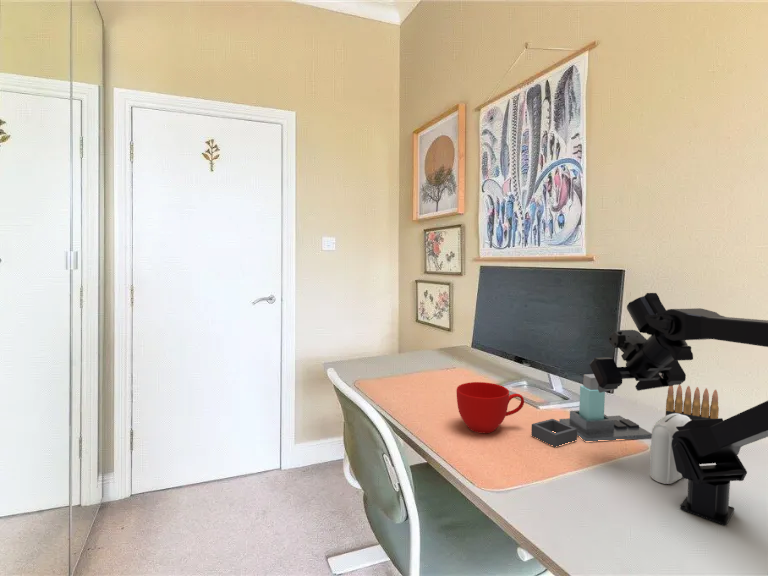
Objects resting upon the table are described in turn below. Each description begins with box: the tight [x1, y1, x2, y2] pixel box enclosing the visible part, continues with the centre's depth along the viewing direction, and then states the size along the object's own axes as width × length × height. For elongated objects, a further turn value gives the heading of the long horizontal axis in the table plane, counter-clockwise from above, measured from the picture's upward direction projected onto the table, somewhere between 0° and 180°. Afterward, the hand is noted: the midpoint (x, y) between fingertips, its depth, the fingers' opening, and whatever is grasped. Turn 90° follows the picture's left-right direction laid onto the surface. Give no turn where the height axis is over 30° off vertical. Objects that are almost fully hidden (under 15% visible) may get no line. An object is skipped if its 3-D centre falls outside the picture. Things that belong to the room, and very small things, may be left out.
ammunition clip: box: [664, 384, 720, 420], centre depth 107 cm, size 11×2×12 cm, turn 55°
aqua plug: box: [578, 373, 606, 420], centre depth 109 cm, size 4×4×13 cm
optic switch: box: [558, 409, 652, 442], centre depth 110 cm, size 12×17×4 cm
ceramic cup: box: [456, 381, 525, 434], centre depth 111 cm, size 13×17×10 cm
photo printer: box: [649, 413, 691, 485], centre depth 87 cm, size 10×4×12 cm, turn 123°
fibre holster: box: [530, 418, 578, 448], centre depth 105 cm, size 7×7×3 cm
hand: (618, 389), depth 99 cm, fingers open, 9 cm apart
